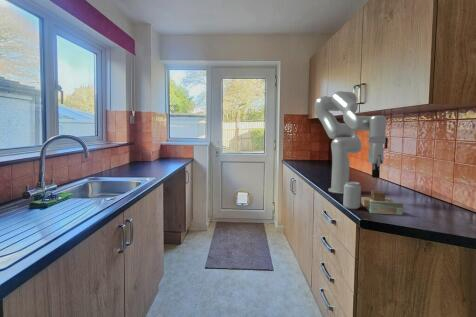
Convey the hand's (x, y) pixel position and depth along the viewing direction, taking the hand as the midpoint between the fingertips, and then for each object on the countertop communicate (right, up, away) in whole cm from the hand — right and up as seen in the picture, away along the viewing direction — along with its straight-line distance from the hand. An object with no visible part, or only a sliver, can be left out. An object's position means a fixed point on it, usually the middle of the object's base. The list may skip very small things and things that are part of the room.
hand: (375, 177), depth 152 cm
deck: (-3, -14, -11) cm, 18 cm away
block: (-2, -10, -6) cm, 12 cm away
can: (-16, -14, -10) cm, 23 cm away
